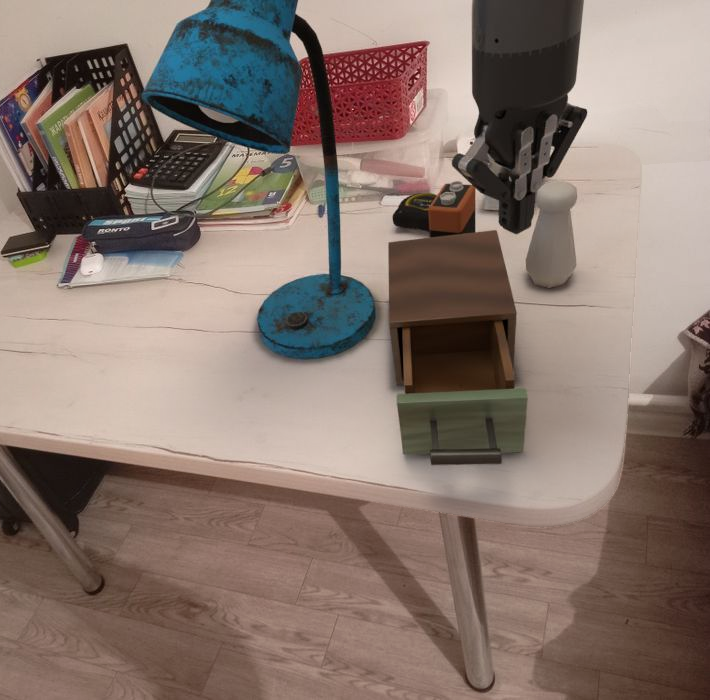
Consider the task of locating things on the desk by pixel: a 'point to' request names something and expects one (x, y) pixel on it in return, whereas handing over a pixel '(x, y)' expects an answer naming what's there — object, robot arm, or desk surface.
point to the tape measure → (414, 212)
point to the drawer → (460, 394)
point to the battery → (453, 210)
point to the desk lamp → (266, 146)
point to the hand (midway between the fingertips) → (516, 227)
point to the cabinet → (448, 286)
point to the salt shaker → (553, 235)
